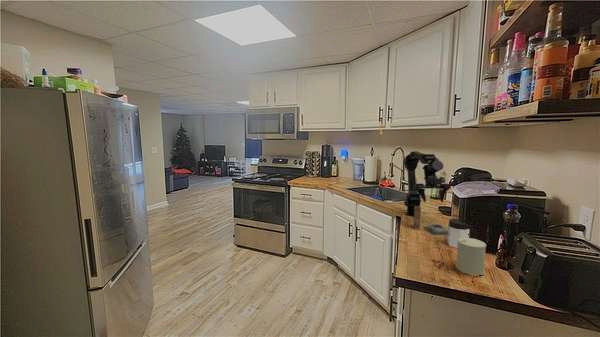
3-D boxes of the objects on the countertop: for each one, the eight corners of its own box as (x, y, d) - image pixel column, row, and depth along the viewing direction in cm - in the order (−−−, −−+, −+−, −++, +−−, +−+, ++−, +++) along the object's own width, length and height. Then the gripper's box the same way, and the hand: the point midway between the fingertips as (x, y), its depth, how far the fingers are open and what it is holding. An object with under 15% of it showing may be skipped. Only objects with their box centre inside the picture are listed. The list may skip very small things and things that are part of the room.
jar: (471, 246, 118) (472, 221, 117) (465, 251, 113) (466, 225, 112) (450, 240, 125) (451, 217, 124) (444, 244, 120) (445, 221, 119)
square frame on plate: (423, 228, 143) (423, 223, 142) (440, 228, 143) (441, 223, 142) (432, 234, 133) (432, 229, 132) (451, 234, 133) (451, 229, 132)
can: (452, 263, 102) (454, 235, 101) (478, 266, 100) (481, 237, 98) (459, 274, 94) (461, 244, 92) (488, 278, 91) (490, 247, 89)
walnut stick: (413, 227, 144) (414, 206, 143) (419, 228, 143) (420, 206, 142) (414, 229, 141) (415, 207, 140) (419, 230, 140) (420, 207, 139)
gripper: (419, 171, 135) (422, 199, 131) (454, 171, 134) (458, 200, 130) (411, 176, 146) (414, 202, 141) (443, 176, 144) (447, 202, 140)
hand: (433, 202), depth 138 cm, fingers open, 9 cm apart
